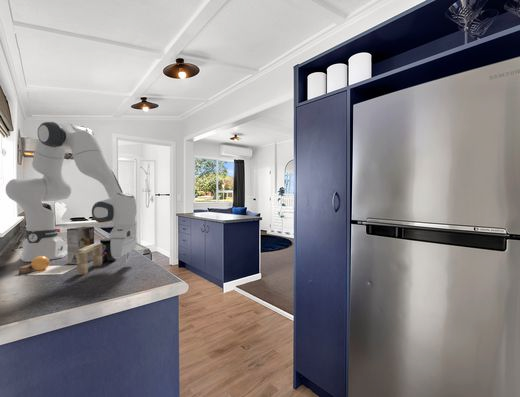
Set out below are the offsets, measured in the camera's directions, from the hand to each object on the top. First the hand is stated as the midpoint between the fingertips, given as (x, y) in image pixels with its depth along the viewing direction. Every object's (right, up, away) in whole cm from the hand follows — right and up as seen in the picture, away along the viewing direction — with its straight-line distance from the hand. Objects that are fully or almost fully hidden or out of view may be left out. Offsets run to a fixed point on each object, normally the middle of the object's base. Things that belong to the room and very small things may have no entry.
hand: (125, 262), depth 118 cm
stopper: (-37, -2, -4) cm, 37 cm away
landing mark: (-28, -2, -4) cm, 28 cm away
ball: (-33, +1, -4) cm, 33 cm away
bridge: (-14, -2, -2) cm, 14 cm away
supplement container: (-14, -2, +12) cm, 19 cm away
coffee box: (-26, -2, +11) cm, 28 cm away
